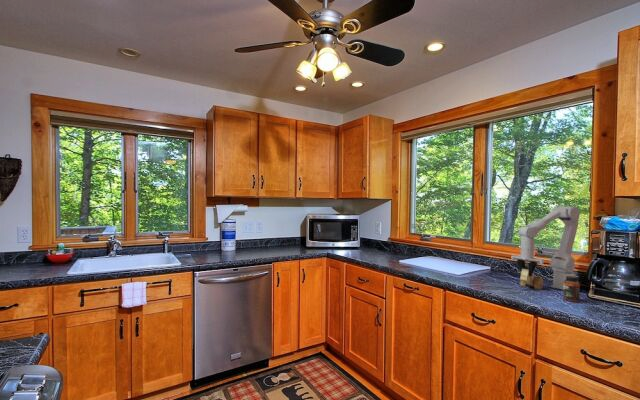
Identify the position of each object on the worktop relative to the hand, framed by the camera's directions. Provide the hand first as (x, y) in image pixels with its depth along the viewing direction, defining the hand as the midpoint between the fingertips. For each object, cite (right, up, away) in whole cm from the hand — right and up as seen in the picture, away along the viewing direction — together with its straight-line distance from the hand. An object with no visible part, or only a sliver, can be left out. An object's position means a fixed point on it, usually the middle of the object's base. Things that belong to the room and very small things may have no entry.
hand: (526, 275), depth 163 cm
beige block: (0, -4, 0) cm, 4 cm away
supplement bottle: (+9, -8, -18) cm, 22 cm away
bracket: (+5, -7, +4) cm, 9 cm away
